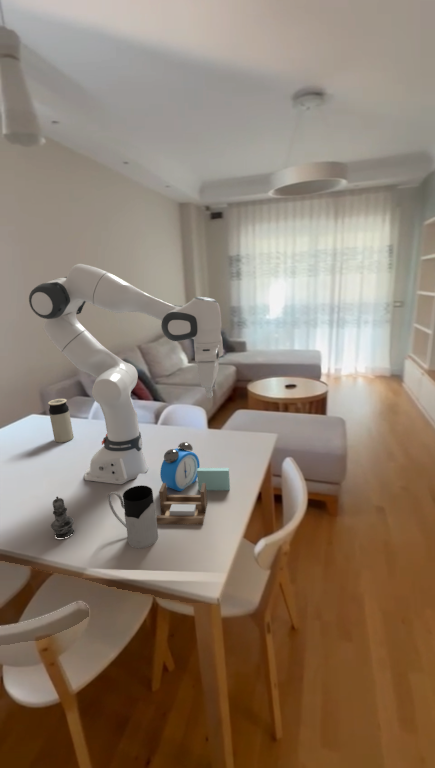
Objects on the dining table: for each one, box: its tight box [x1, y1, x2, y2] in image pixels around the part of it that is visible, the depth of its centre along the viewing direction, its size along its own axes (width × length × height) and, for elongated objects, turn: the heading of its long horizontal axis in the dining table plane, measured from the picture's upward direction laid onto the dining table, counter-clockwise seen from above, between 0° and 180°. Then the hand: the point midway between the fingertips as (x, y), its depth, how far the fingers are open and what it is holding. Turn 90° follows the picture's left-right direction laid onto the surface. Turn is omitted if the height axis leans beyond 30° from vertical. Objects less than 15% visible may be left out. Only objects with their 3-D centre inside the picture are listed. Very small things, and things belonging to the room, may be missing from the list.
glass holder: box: [107, 484, 159, 549], centre depth 100 cm, size 9×14×15 cm, turn 66°
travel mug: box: [47, 398, 74, 443], centre depth 167 cm, size 8×8×18 cm
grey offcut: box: [169, 504, 196, 516], centre depth 107 cm, size 7×3×2 cm, turn 84°
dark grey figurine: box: [50, 496, 75, 538], centre depth 104 cm, size 6×6×12 cm
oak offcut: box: [165, 509, 198, 516], centre depth 108 cm, size 9×3×2 cm, turn 84°
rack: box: [156, 482, 208, 525], centre depth 109 cm, size 13×10×8 cm
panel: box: [197, 467, 231, 491], centre depth 121 cm, size 10×2×8 cm, turn 84°
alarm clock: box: [159, 441, 201, 492], centre depth 124 cm, size 13×6×15 cm, turn 143°
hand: (211, 392), depth 122 cm, fingers open, 8 cm apart
